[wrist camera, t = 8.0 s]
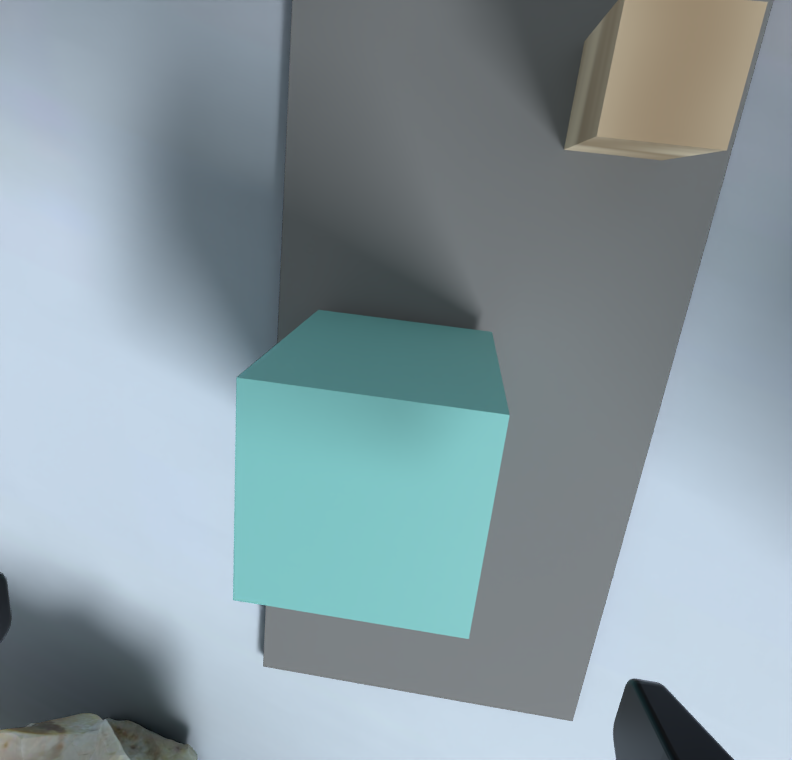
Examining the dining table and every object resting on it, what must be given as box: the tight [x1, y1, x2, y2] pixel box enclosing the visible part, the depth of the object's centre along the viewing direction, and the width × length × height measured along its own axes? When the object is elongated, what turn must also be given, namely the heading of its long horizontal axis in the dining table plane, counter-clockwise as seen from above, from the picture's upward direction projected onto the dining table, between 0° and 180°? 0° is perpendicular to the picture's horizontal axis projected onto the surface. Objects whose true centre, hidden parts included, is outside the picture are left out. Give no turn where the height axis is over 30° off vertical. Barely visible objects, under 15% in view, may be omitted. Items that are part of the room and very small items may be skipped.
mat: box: [263, 0, 773, 721], centre depth 18 cm, size 12×25×1 cm, turn 174°
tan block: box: [564, 0, 768, 160], centre depth 13 cm, size 3×3×4 cm
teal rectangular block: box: [233, 310, 510, 639], centre depth 15 cm, size 5×5×7 cm
